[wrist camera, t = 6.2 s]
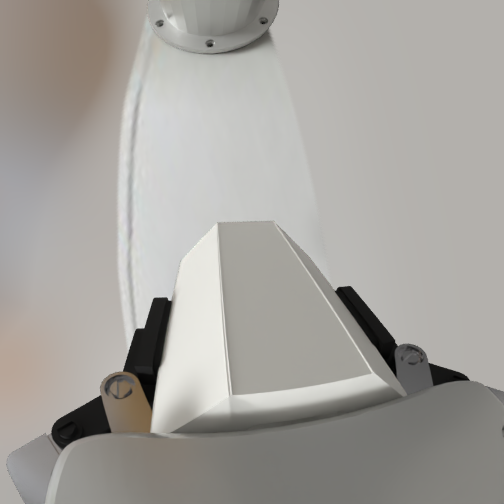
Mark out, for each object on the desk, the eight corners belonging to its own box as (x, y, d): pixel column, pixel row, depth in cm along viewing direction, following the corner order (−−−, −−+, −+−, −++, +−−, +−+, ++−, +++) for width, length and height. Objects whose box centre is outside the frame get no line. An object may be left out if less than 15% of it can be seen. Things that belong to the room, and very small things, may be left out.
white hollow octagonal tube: (177, 223, 13) (121, 394, 4) (311, 219, 14) (443, 350, 5) (189, 333, 16) (184, 497, 7) (300, 326, 17) (362, 471, 7)
